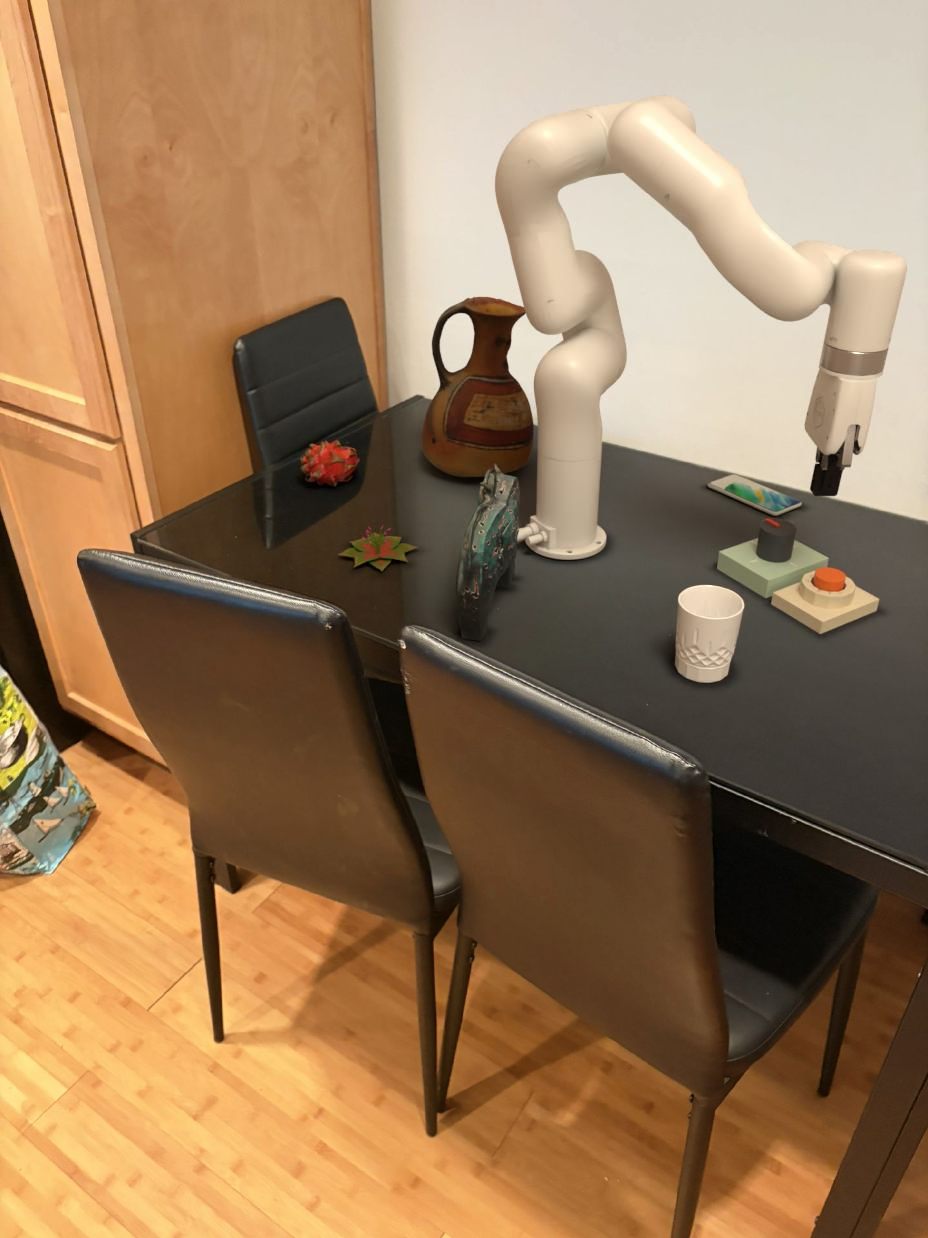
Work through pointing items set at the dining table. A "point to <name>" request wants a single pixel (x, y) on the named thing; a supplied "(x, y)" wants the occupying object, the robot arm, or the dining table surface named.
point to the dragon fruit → (329, 463)
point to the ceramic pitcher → (479, 398)
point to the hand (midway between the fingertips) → (823, 493)
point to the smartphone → (754, 494)
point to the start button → (829, 579)
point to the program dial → (776, 540)
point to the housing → (824, 604)
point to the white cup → (707, 632)
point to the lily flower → (378, 550)
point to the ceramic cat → (487, 552)
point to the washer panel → (768, 567)
